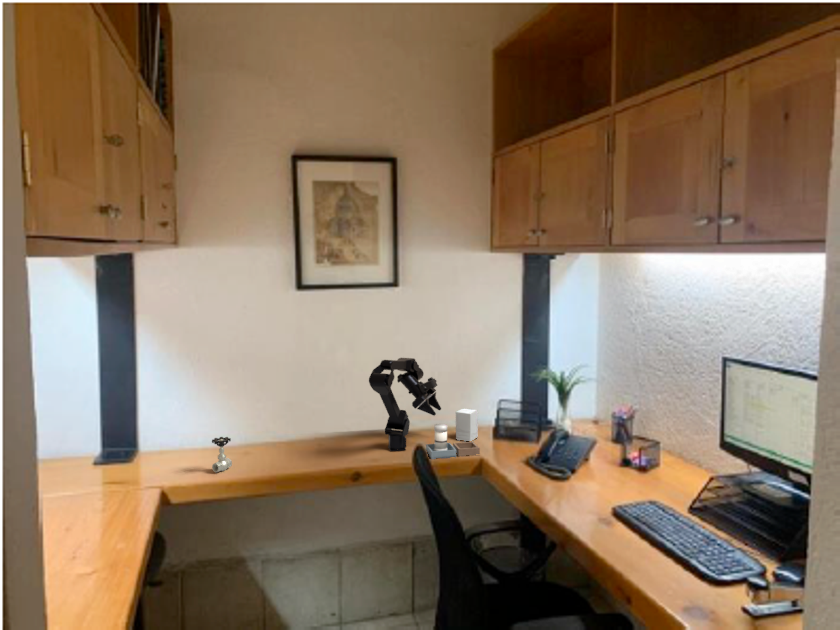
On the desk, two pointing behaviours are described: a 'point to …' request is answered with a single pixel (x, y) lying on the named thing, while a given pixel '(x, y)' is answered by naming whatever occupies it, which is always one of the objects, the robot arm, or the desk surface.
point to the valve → (221, 455)
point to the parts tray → (441, 454)
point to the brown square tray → (466, 448)
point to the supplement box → (466, 424)
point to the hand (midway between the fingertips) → (437, 412)
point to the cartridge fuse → (440, 437)
